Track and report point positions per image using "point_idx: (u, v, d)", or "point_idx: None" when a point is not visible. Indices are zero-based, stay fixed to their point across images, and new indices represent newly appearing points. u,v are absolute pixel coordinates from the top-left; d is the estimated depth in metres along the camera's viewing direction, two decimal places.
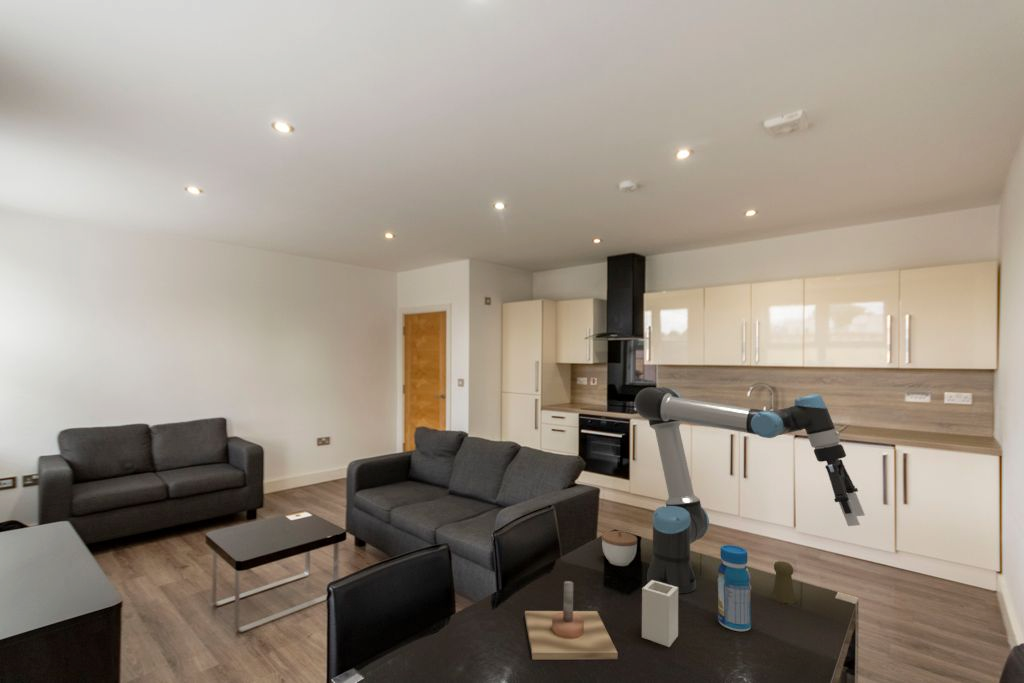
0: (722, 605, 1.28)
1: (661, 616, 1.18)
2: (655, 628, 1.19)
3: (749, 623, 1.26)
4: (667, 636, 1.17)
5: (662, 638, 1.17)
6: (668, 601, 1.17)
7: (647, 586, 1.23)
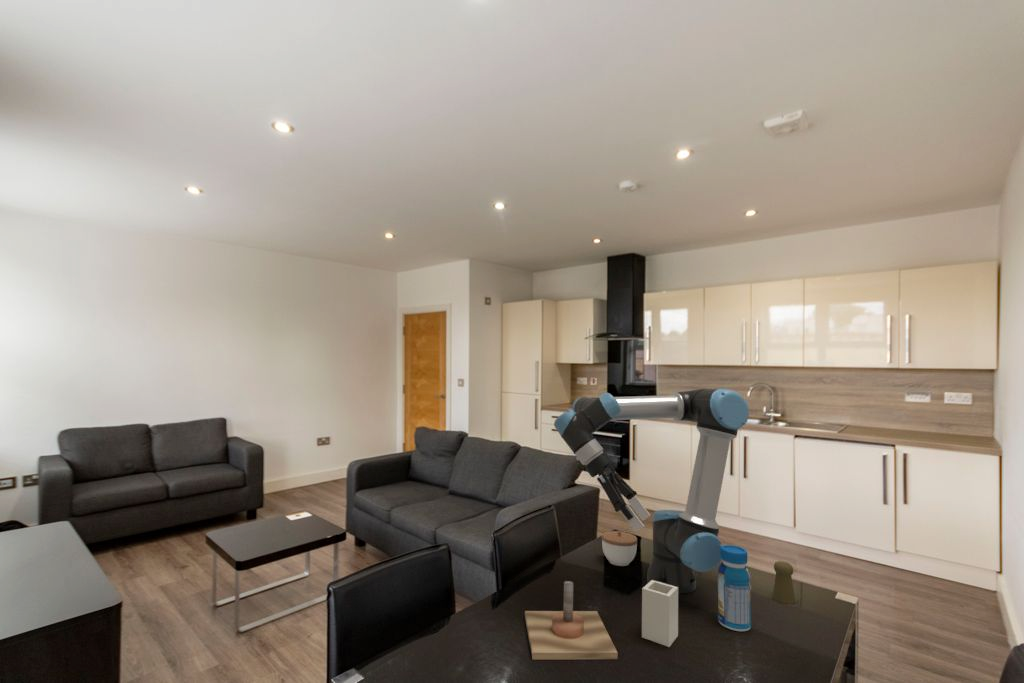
0: (722, 605, 1.28)
1: (661, 616, 1.18)
2: (655, 628, 1.19)
3: (749, 623, 1.26)
4: (667, 636, 1.17)
5: (662, 638, 1.17)
6: (668, 601, 1.17)
7: (647, 586, 1.23)
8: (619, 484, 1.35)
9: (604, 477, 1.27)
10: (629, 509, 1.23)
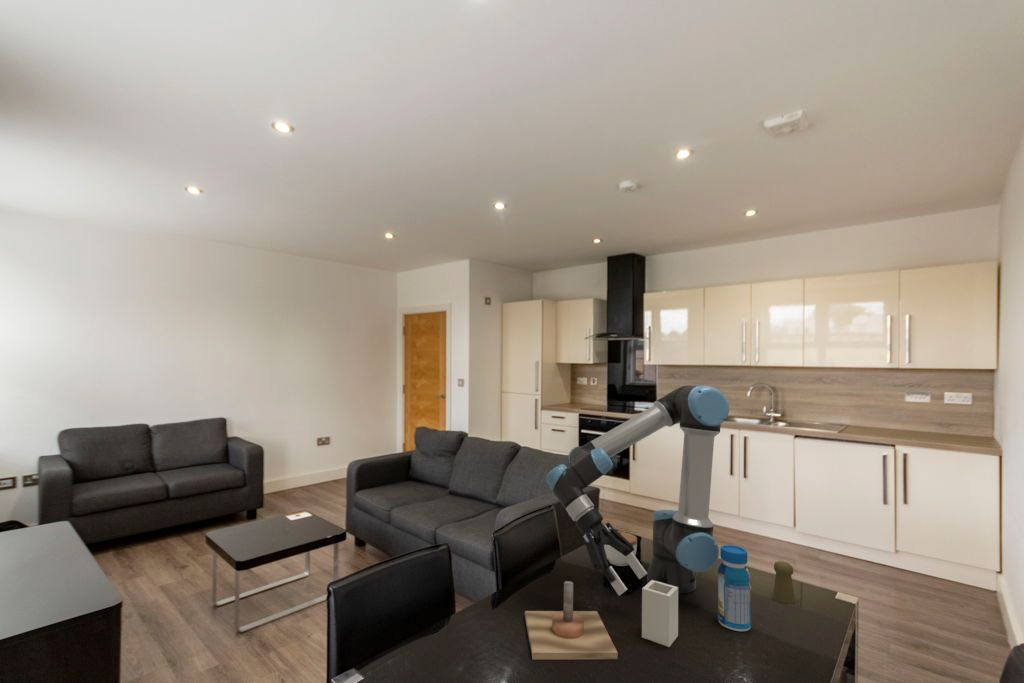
0: (722, 605, 1.28)
1: (661, 616, 1.18)
2: (655, 628, 1.19)
3: (749, 623, 1.26)
4: (667, 636, 1.17)
5: (662, 638, 1.17)
6: (668, 601, 1.17)
7: (647, 586, 1.23)
8: (612, 541, 1.33)
9: (588, 537, 1.27)
10: (612, 571, 1.22)
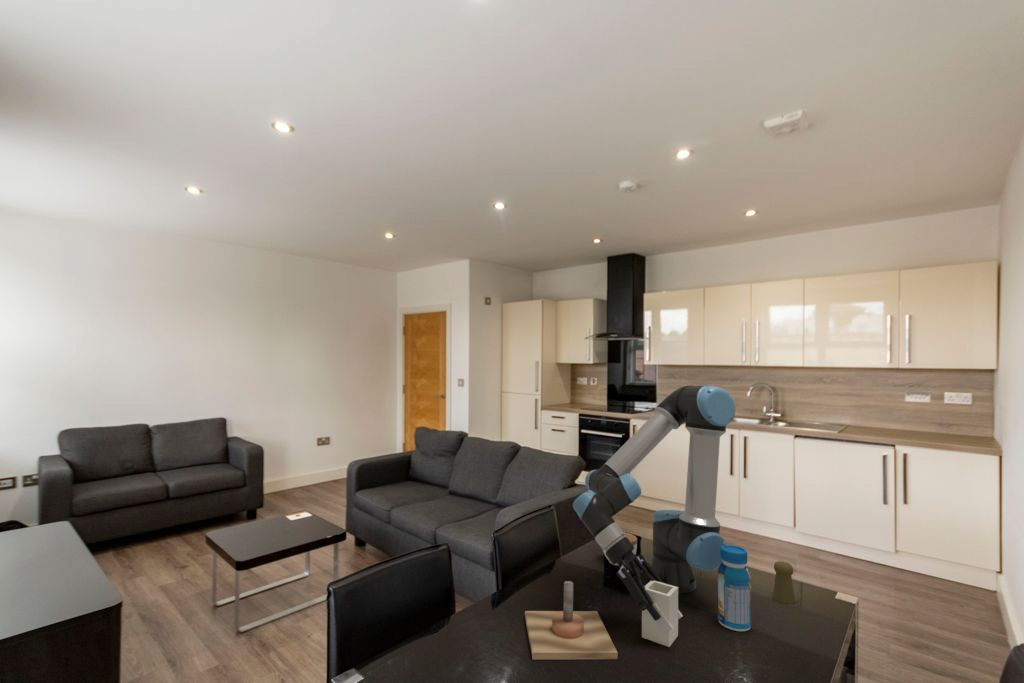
0: (722, 605, 1.28)
1: None
2: (655, 628, 1.19)
3: (749, 623, 1.26)
4: (667, 636, 1.17)
5: (662, 638, 1.17)
6: (668, 601, 1.17)
7: (647, 586, 1.23)
8: (643, 574, 1.27)
9: (624, 573, 1.21)
10: (656, 608, 1.18)
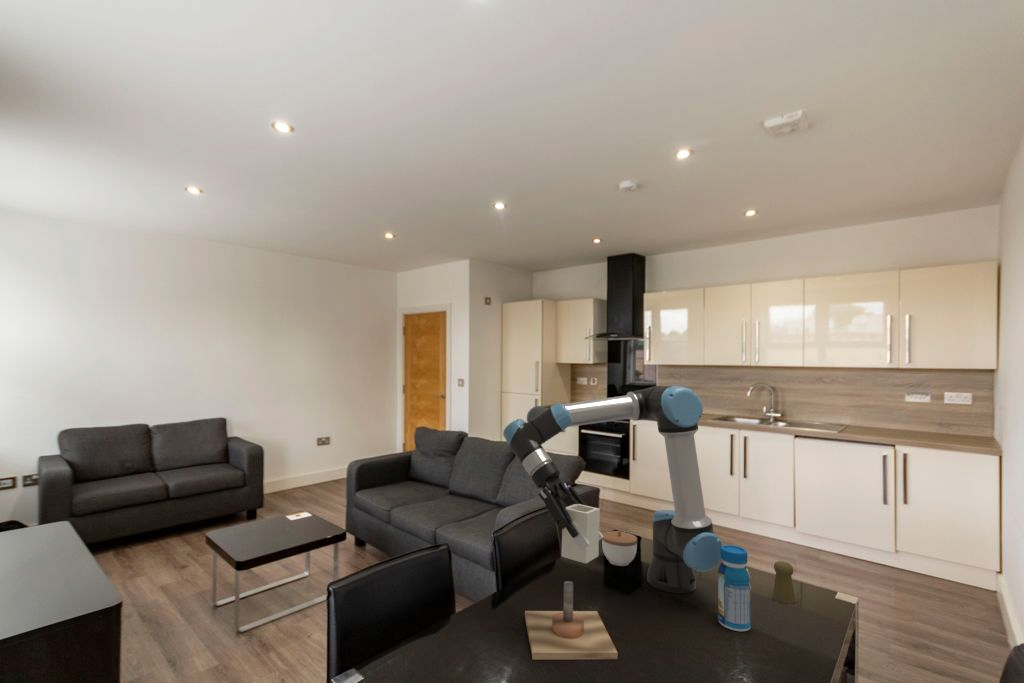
0: (722, 605, 1.28)
1: None
2: (573, 546, 1.19)
3: (749, 623, 1.26)
4: (584, 553, 1.17)
5: (580, 555, 1.18)
6: (586, 518, 1.18)
7: (569, 507, 1.23)
8: (568, 498, 1.27)
9: (545, 493, 1.22)
10: (574, 526, 1.18)
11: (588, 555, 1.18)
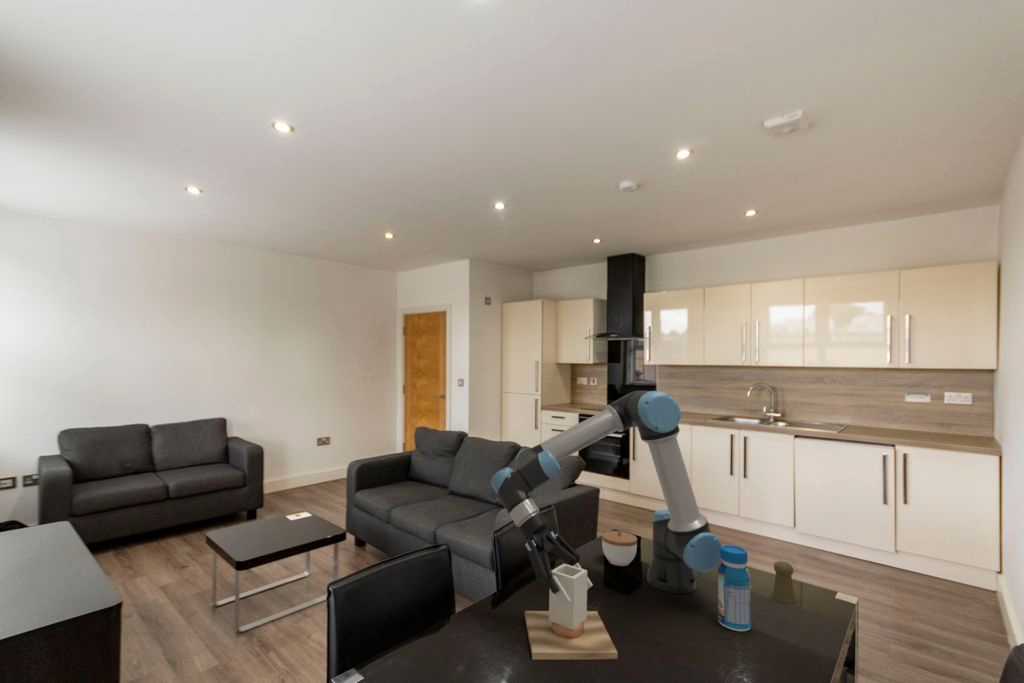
0: (722, 605, 1.28)
1: None
2: (561, 611, 1.17)
3: (749, 623, 1.26)
4: (571, 619, 1.16)
5: (567, 621, 1.16)
6: (573, 584, 1.16)
7: (556, 569, 1.22)
8: (557, 548, 1.27)
9: (530, 545, 1.21)
10: (555, 581, 1.16)
11: (575, 620, 1.16)
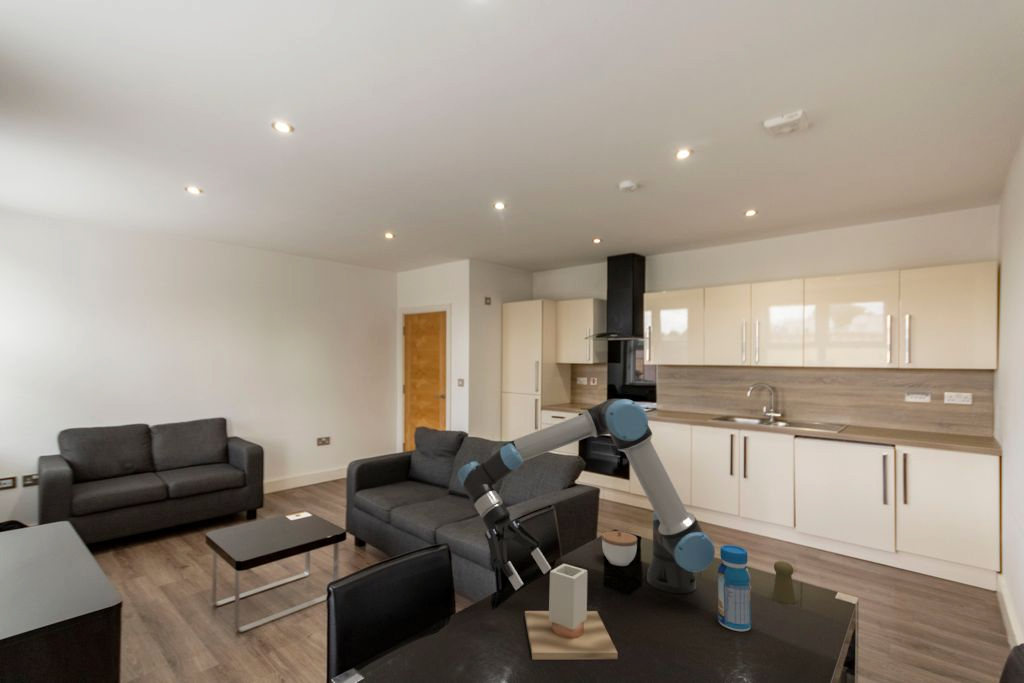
0: (722, 605, 1.28)
1: (566, 599, 1.17)
2: (561, 611, 1.17)
3: (749, 623, 1.26)
4: (571, 619, 1.16)
5: (567, 621, 1.16)
6: (573, 584, 1.16)
7: (556, 569, 1.22)
8: (518, 536, 1.35)
9: (490, 532, 1.28)
10: (509, 566, 1.23)
11: (575, 620, 1.16)
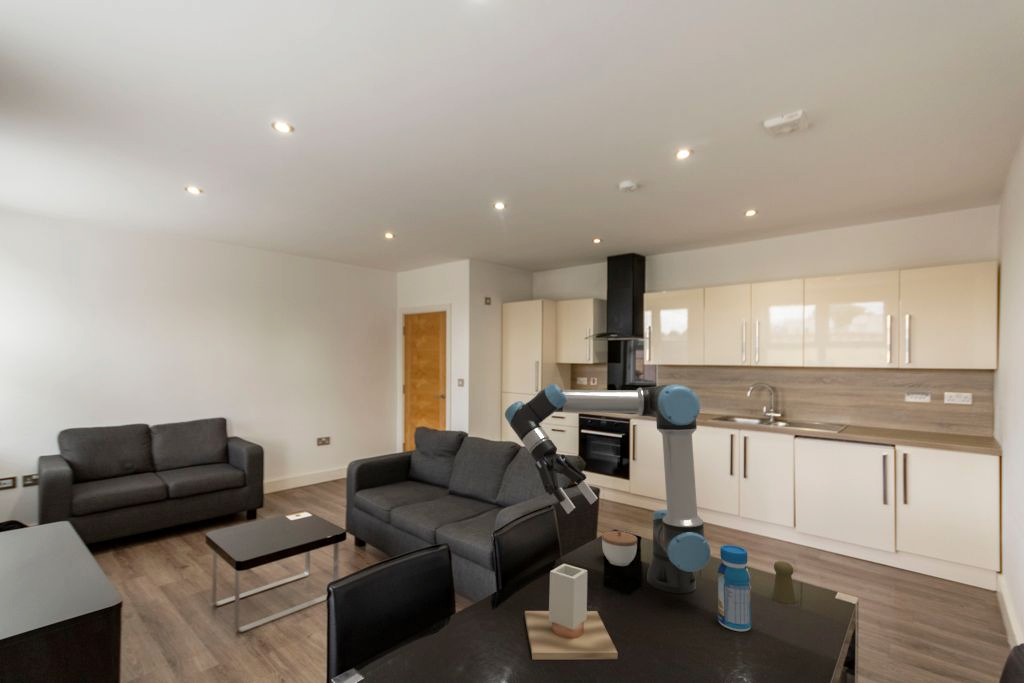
0: (722, 605, 1.28)
1: (566, 599, 1.17)
2: (561, 611, 1.17)
3: (749, 623, 1.26)
4: (571, 619, 1.16)
5: (567, 621, 1.16)
6: (573, 584, 1.16)
7: (556, 569, 1.22)
8: (565, 469, 1.41)
9: (540, 462, 1.35)
10: (561, 492, 1.29)
11: (575, 620, 1.16)
